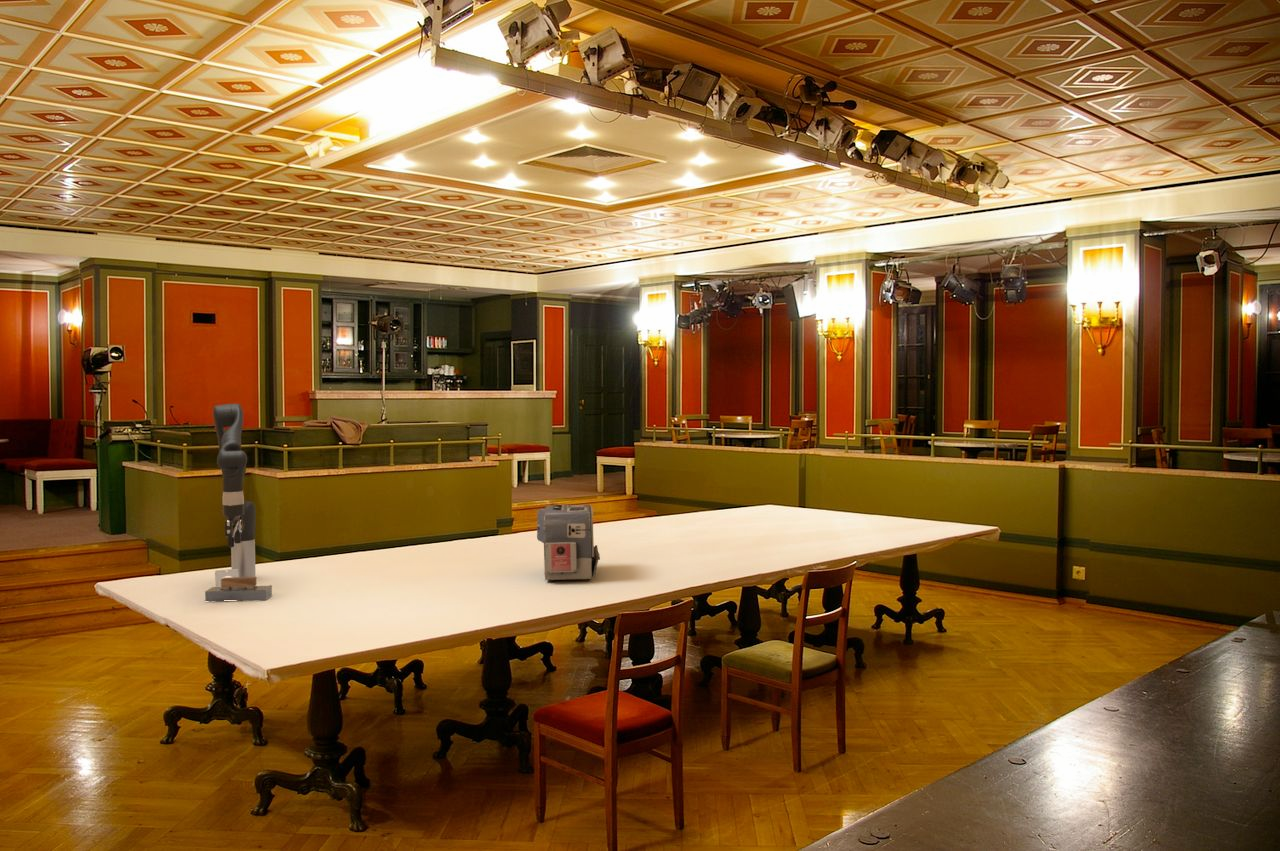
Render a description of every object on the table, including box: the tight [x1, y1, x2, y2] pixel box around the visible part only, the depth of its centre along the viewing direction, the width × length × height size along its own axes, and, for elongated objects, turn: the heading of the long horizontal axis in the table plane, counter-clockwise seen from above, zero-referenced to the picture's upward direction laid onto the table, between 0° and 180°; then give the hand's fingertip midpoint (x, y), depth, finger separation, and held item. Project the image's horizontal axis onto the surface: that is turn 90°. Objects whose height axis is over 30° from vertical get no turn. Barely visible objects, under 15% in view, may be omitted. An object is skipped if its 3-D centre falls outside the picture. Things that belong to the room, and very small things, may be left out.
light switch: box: [214, 568, 239, 587], centre depth 376 cm, size 8×6×14 cm
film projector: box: [536, 504, 601, 583], centre depth 403 cm, size 39×29×30 cm
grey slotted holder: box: [204, 585, 273, 601], centre depth 362 cm, size 8×22×4 cm, turn 96°
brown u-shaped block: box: [221, 576, 257, 590], centre depth 362 cm, size 3×12×8 cm, turn 96°
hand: (234, 545), depth 362 cm, fingers open, 8 cm apart
